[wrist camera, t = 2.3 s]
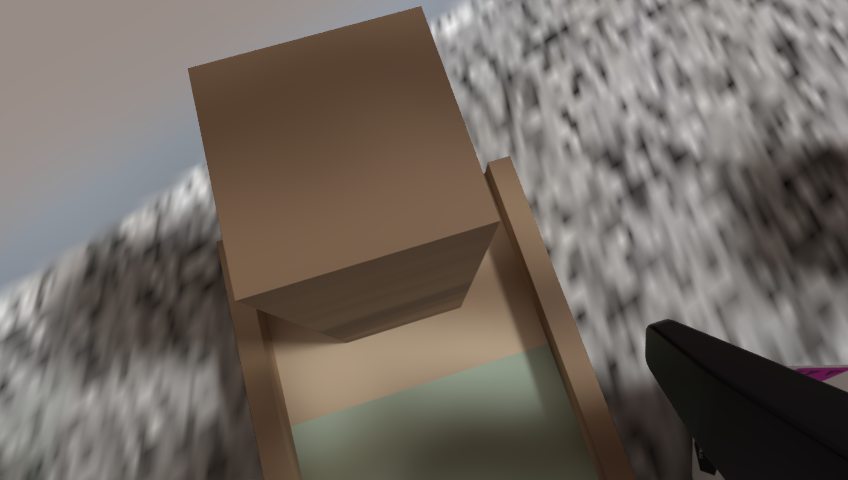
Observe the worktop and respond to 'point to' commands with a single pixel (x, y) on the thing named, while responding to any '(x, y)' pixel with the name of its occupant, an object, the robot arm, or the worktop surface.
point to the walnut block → (345, 178)
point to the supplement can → (835, 375)
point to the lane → (438, 380)
